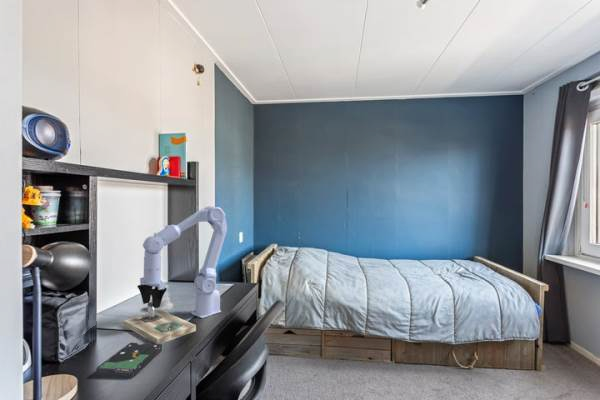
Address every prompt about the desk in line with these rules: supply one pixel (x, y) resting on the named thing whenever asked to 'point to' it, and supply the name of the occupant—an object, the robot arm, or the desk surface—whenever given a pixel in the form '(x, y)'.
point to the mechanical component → (164, 304)
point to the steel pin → (151, 311)
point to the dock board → (160, 327)
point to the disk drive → (129, 360)
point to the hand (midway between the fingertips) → (151, 305)
